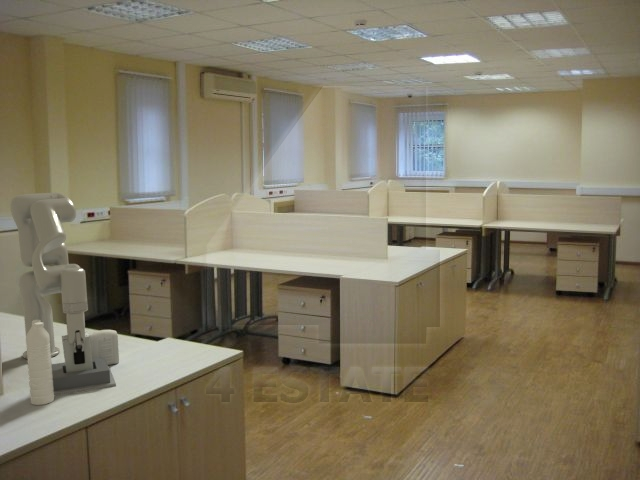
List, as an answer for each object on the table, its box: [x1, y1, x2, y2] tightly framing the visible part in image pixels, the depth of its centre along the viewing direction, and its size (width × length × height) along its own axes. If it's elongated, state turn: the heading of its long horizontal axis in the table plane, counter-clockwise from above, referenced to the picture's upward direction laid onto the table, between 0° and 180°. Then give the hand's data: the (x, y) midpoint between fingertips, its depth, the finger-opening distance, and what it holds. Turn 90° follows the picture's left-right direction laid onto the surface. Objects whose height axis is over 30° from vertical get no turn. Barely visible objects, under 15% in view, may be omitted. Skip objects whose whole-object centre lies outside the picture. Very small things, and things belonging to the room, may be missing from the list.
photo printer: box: [88, 329, 120, 366], centre depth 228 cm, size 10×4×12 cm, turn 123°
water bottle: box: [25, 320, 55, 406], centre depth 193 cm, size 9×6×25 cm
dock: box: [51, 357, 117, 397], centre depth 211 cm, size 18×20×5 cm
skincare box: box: [61, 330, 93, 373], centre depth 210 cm, size 8×6×15 cm
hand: (78, 360), depth 211 cm, fingers open, 6 cm apart
